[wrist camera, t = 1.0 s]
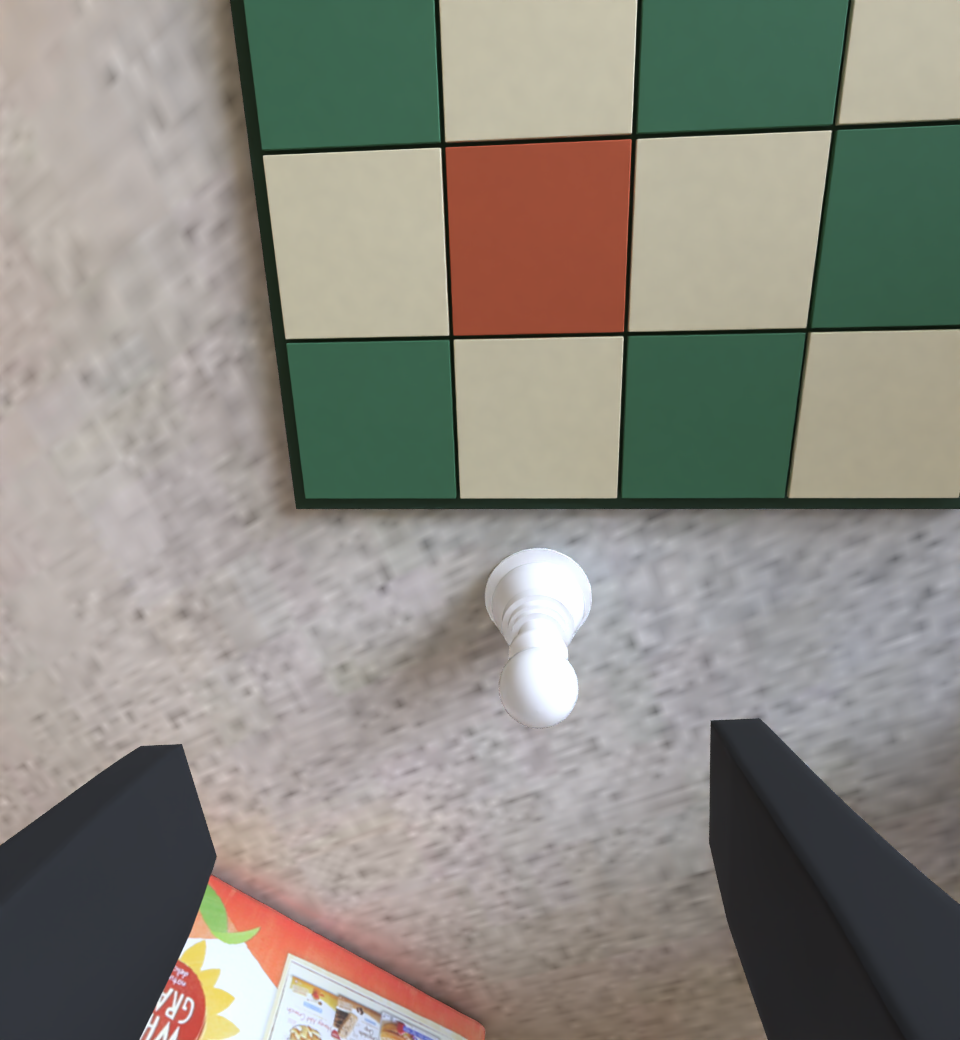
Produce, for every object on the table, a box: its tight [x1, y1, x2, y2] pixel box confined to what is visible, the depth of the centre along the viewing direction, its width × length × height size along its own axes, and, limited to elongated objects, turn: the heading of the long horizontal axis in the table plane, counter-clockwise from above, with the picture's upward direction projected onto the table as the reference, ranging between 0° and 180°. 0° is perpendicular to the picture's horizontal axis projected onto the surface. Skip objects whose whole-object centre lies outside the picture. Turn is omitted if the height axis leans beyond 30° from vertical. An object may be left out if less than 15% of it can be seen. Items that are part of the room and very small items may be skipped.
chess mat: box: [230, 0, 960, 509], centre depth 15 cm, size 17×17×1 cm
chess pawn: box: [485, 548, 592, 729], centre depth 17 cm, size 3×3×5 cm
